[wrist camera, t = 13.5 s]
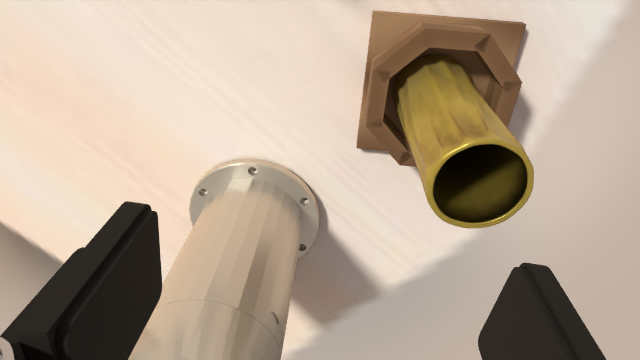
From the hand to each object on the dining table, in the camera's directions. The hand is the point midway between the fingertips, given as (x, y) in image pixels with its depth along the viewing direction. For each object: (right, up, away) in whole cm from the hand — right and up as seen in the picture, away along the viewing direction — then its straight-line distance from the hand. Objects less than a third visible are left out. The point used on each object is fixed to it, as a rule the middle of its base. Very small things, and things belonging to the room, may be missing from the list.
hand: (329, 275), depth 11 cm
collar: (+9, +10, +22) cm, 26 cm away
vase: (+9, +10, +22) cm, 25 cm away
